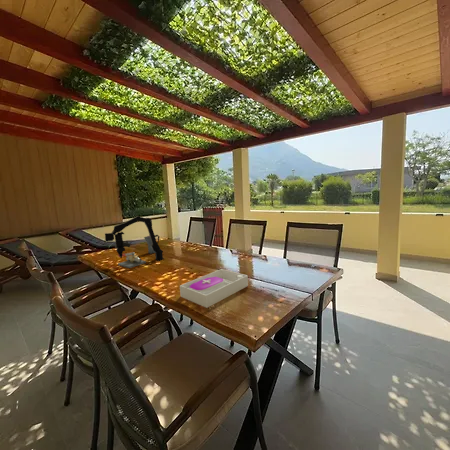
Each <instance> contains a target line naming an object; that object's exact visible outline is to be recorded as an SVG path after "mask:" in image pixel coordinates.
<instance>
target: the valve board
mask: <svg viewBox="0 0 450 450" xmlns="http://www.w3.org/2000/svg"><path fill="white" fill-rule="evenodd" d="M146 263H147V261H146V260H142V259H141V263H135V262H134V263H131V262H130V261H127V260H126V261H122V262H118V263H117V266H119V267H120V266H121V267H124V268H127V269H132V268H134V267H137V266H141V265H144V264H146Z"/></svg>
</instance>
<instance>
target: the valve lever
mask: <svg viewBox="0 0 450 450" xmlns="http://www.w3.org/2000/svg"><path fill="white" fill-rule="evenodd" d="M132 255H135V252H134V251H133V252H127V253H122V258H123V257H127V256H132ZM117 257H118V258H120V256H119V254H117Z"/></svg>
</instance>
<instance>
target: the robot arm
mask: <svg viewBox="0 0 450 450" xmlns="http://www.w3.org/2000/svg"><path fill="white" fill-rule="evenodd" d="M137 222H142V223H144V225H145V226H146V228H147V231H148V234H149V235H150V238H151V241H152V245H151V248H152V250H153V251H155V252H156V253H154V255H155V258H154V261H161V260H164V259H165V257H164V256H163V253H164V251H163V249H161V247H160V245H159V242H158V241H157V240H156V237H155V235H156V234H155V233H154V229H153V223H152V219H151V218H150V217H142V216H139V215H136V216H135V217H133V218H131V219H128V220H126V221H125V222H121V223H118V224H115V225H114V227H113V230H112V231H111V232H108V233H107V232H105V233H104V238H105V242H113V241H114V240H115V241H114V243H115V246H114V248H115V249H116V253H117V255H119V256H120V257H119V258H120V259H122V258H123V257H122V254H124V252H125V251H126V248H130V247H131V243H130V242H129V241H128V240H126V241H124V238H123V235H125V232H124V231H123V230H124V229H126V228H127V227H129V226H131V225H133V224H134V223H135V224H136V223H137ZM149 235H148V236H149ZM157 242H158V243H157ZM125 247H126V248H125Z"/></svg>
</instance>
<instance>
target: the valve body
mask: <svg viewBox="0 0 450 450" xmlns="http://www.w3.org/2000/svg"><path fill="white" fill-rule="evenodd" d="M125 258H126V259H125V260H126V261H130V262H131V263H134V262H135V263H141V260H142V258H139V256H138V255H128V256H125Z"/></svg>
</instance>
